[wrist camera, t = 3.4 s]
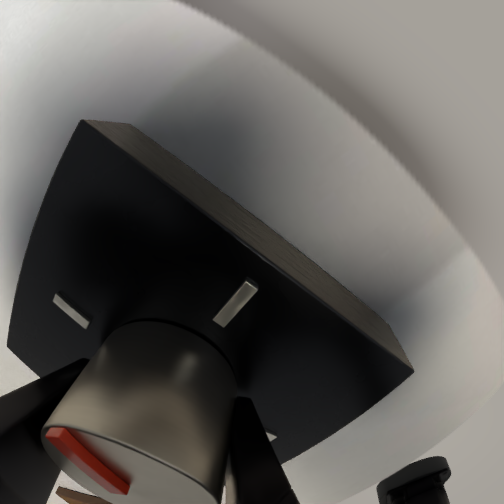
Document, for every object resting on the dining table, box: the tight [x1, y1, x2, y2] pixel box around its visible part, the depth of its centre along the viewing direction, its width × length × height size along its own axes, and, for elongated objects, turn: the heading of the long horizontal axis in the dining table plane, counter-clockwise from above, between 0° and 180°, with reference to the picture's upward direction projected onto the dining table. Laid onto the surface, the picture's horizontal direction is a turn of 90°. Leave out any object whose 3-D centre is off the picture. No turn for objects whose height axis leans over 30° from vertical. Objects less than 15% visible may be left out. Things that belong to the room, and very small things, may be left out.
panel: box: [7, 119, 414, 486], centre depth 10 cm, size 12×10×3 cm
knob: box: [41, 321, 237, 504], centre depth 6 cm, size 4×4×4 cm
